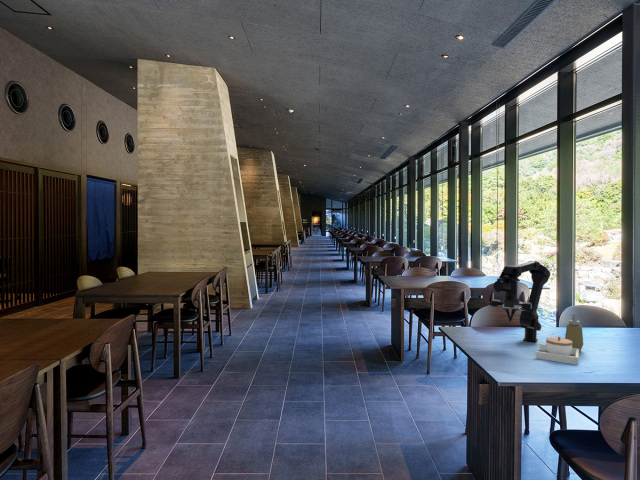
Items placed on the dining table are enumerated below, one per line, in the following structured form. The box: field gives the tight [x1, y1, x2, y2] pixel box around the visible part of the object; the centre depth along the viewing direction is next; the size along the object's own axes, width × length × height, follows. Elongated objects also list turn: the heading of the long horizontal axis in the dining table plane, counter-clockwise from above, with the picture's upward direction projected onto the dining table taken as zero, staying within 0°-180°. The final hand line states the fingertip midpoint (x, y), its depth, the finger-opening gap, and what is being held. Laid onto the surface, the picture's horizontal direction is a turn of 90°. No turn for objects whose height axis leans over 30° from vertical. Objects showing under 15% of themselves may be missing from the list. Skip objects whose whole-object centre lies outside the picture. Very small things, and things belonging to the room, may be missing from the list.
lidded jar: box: [545, 336, 573, 356], centre depth 199 cm, size 11×11×9 cm
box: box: [535, 343, 580, 366], centre depth 199 cm, size 17×16×3 cm
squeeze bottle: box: [564, 312, 584, 352], centre depth 210 cm, size 8×8×18 cm
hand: (510, 321), depth 219 cm, fingers closed
